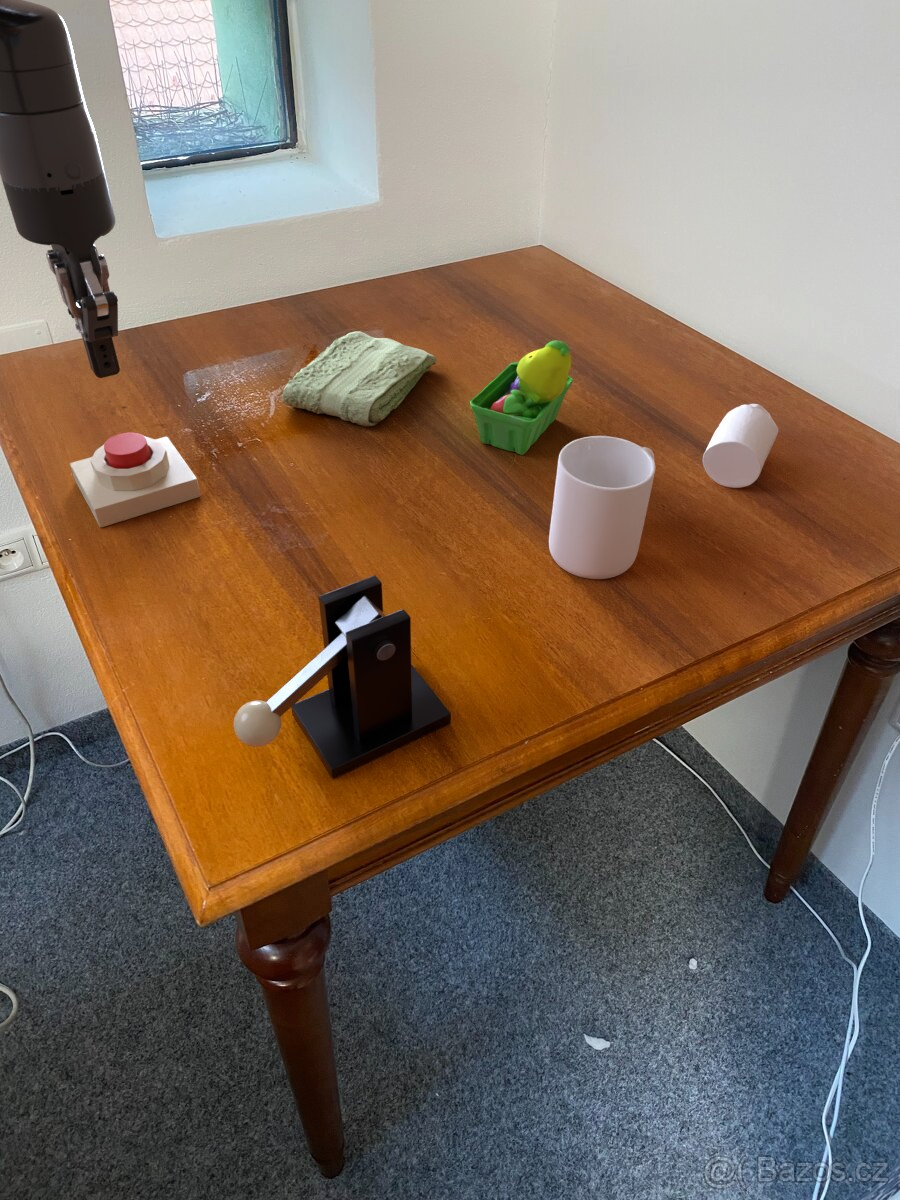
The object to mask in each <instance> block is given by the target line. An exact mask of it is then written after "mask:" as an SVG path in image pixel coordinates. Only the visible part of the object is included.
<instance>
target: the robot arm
mask: <svg viewBox="0 0 900 1200" xmlns="http://www.w3.org/2000/svg"><path fill="white" fill-rule="evenodd" d="M76 63H77V62H76V59H75V53H74V49H73V45H72V40H71V37H70V34H69V30H68V27H67V25H66V23H65V21H64V19H63V17H62V16H61V15H60V14H59V13H58V12H57V11H55V10H54V9H52V8H50V7H48V6H44V5H41V4H38V3H36V2H35V3H34V2H31V1H27V0H0V178H1V182H2V186H3V188H4V192H5V195H6V198H7V202H8V205H9V209H10V211H11V215H12V218H13V221H14V225H15V227H16V231H17V233H18V234H19V236H21V237H22V238H23V239H24V240H26V241H29V242H31V243H33V244H37V245H44V246H50V247H51V249H48V250H47V251H46V253H45V255H46V259H47V263H48V267H49V269H50V271H51V272H52V273H53V274H54V276H55V279H56V282H57V283H56V284H57V286H58V290H59V293H60V296H61V299H62V302H63V303H64V305H65V306H66V307H67V312H68V315H70V316H71V319H74V322H75V323H74V326H75V329H76V331H78V333H79V334H80V336H81V338H82V342H83V346H84V349H85V352H86V355H87V359H88V363H89V366H90V370H91V371H92V372H93V374H94V375H95V376H96V378H99V379H103V378H107V377H112V376H116V375H118V374H119V373H120V371H121V368H120V367H121V366H120V364H119V360H118V356H117V352H116V349H115V344H114V340H113V338H115V337H118V336H119V304H118V303H119V299H118V296H117V295H116V293H115V292H114V290H111V289H110V286H109V278H110V272H109V267H108V263H107V261H106V258H105V256H104V254H100V255H99V252H98V249H97V246H96V244H95V242H96V241H97V240H98V239H99V238H101V237H104V236H106V235H108V234H109V233H111V232H112V230H113V229H114V227H115V226H116V216H115V211H114V207H113V203H112V198H111V195H110V190H109V186H108V182H107V177H106V173H105V169H104V164H103V160H102V155H101V150H100V146H99V143H98V138H97V134H96V131H95V127H94V124H93V121H92V119H91V117H90V114H89V111H88V108H87V105H86V101H85V97H84V94H83V89H82V85H81V81H80V76H79V71H78V68H77V64H76Z"/></svg>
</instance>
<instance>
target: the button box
mask: <svg viewBox="0 0 900 1200" xmlns="http://www.w3.org/2000/svg"><path fill="white" fill-rule="evenodd" d="M143 436H144V435H143ZM144 437H145V438H146V440H147V444H148V448H149V452H150V459H149V461H147V462H146V463H144V464H143V465H140V466H137V467H133V468H130V469H116V468H113V467H111V466H110V465H109V463H108V460H107V457H106V453H105V450H104V444H103V445H102V446H100V447H98V448H96V449H95V451H94V453H93V455H92V456H91V457H87V458H83V459H80V460H77V461H76V460H75V461H72V462H70V463H69V466H70V470H71V473H72V475H73V479H74V481H75V483H76V485H77V487H78V489H79V491H80V493H81V495H82V497H83V498H84V500H85V502H86V504H87V506H88V508H89V510H90V511H91V513H92V515H93V517H94V519H95V521H96V523H97V525H98V526H99V528H101V529H102V528H104V527H107V526H111V525H114V524H117V523H120V522H124V521H127V520H131V519H133V518H136V517H140V516H143V515H145V514H149V513H153V512H156V511H159V510H162V509H165V508H168V507H172V506H175V505H179V504H181V503H185V502H188V501H190V500H195V499H197V498H201V496H202V495H201V490H200V485H199V481H198V478H197V476H196V475H195V473H194V472H193V470H191V468H190V466H189V465H188V464H187V463H186V461H185V460H184V458H183V457H182V455H181V454H180V453H179V451H178V450H177V449H176V447H175V445H174V443H172V441H171V440H170V438H169V437H168V436H163V437H160V438H156V439H154V438H151V437H148V436H144Z"/></svg>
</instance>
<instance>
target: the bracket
mask: <svg viewBox="0 0 900 1200" xmlns="http://www.w3.org/2000/svg"><path fill="white" fill-rule="evenodd" d="M363 596H366V597H367V598H368V599H369V600H370V601H372V602H373V603H374V604H375V605H376V606H377V607H378V608H379V609H380V610H381V611H382V612H383V613H384V603H383V583H382V582H381V580H380V579H379V578H378V576H377V575H376V574H375V575H374V574H373V575H372V576H369V577H366V578H364V579H361V580H359V581H355V582H353V583H350V584H348V585H345V586H343V587H340V588H337V589H334V590H332V591H329V592H327V593H324V594H321V595H319V596H318V603H319V614H320V623H321V630H322V631H321V632H322V639H323V650H324V649H325V648H326V647H327V646H328V645H329V644H330V643H331V642H333V641H334V640H335V639H336V638H337V637H338V636H339V635H340V634H341V633H342V632H341V630H340V629H339V628H338V626H337V625H336V624H335V622H336V621H337V620H338V619H339V618H340V617H341V616H342V615H343V614H344V613H345V612H347V611H348V610H349V609H350V608H351V607H352V606H353V605H354V604H355V603H356V602H358V601H359V600H360V599H361V598H362V597H363ZM411 619H412V617H411V616H410V614H408V612H407V611H406V610H405V609H404V608H402V609H400V610H397V611H394V612H391V613H390V614H387V615H385V616H384V617H382V618H380V619H377V620H375V621H372V622H370V623H367V624H365V625H362V626H360V627H357V628H355V629H352V630H350V631H347V632H346V642H347V654H348V656H347V657H346V658H345V659H343V660H342V661H341V662H340V663H339V664H338V665H337V666H336V667H335V668H334V669H332V670H331V671H330V672H329V673H328V674H327V675H326V676H327V683H328V684H327V685H328V688H327V689H325V690H323V691H320V692H318V693H316V694H314V695H311V696H308V697H307V698H304V699H302V700H299V701H297V702H296V703H295V704H294V705H293V706H292V707H291V708H290V709H291V714H292V717H293V718H294V720H295V722H296V723H297V725H298V726H299V728H300V730H301V731H302V733H303V735H304V736H305V737H306V740H307V741H308V742H309V744H310V746H311V747H312V749H313V750H314V751H315V753H316V755H317V756H318V758H319V760H320V761H321V763H322V764H323V766H324V768H325V769H326V770H327V772H328V774H329V776H330V777H331V778H332V779H333V780H334V779H337V778H339V777H341V776H343V775H345V774H347V773H349V772H352V771H353V770H356V769H358V768H360V767H362V766H364V765H366V764H368V763H370V762H372V761H374V760H376V759H379V758H381V757H383V756H385V755H387V754H390V753H391V752H393V751H396V750H398V749H400V748H402V747H404V746H406V745H408V744H410V743H412V742H414V741H416V740H419V739H421V738H423V737H425V736H427V735H429V734H431V733H433V732H436V731H437V730H440V729H441V728H443V727H447V726H448V725H451V723H452V713H451V711H450V710H449V709H448V708H447V707H446V705H445V704H444V703H443V702H442V700H441V699H440V698H439V697H438V696H437V694H436V693H435V692H434V690H433V689H432V688H431V687H430V685H429V684H428V683H427V682H426V680H425V679H424V678H423V677H422V676H421V674H420V673H419V671H418V670H417V668H415V666H414V665H413V664H412V625H411V624H412V623H411Z"/></svg>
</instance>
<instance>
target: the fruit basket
mask: <svg viewBox="0 0 900 1200" xmlns="http://www.w3.org/2000/svg"><path fill="white" fill-rule="evenodd" d="M570 352H571V350H570V347H569V345H568V344H567V343H566V342H565V341H563V340H556V339H555V340H551V341H549V342H547V343H546V344H545V346H544V347H543V348H539V349H536V350H533V351H531V352H528V353H527V354H525V355H524V356H523V357H522V358H520V360H519V361H514V362H511V363H509V364H508V365H507V366H506V367H505V368H504V369H503V370H502V371H501V372H500V373H499V374H497V376H496V377H495V378H494V379H493V380H492V381H490V382H489V383H488V384H487V385H486V386H485V387H484V388H483V389H481V391H480V392H478V394H476V395H475V396H474V397H473V398H472V399H471V400H470V401H469V405H470V408H471V411H472V413H473V415H474V417H475V422H476V425H477V430H478V434H479V438H480V441H481V443H482V444H484V445H491V446H493V447H495V448H498V449H501V450H504V451H506V452H507V451H508V452H513V453H514V452H515V453H516V454H518V455H520V456H523V455H525V454H526V453H527V452H528V451H529V450H530V449H531V448H530V447H531V446H532V445H534V444H535V443H536V442H537V440H538V439H539V437H540V436H541V435H543V434H544V433H545V432H546V430H547V429H548V428H549V426H550V425H552V424H553V423H554V421H555V420H556V418H557V417H558V413H559V411H560V409H561V406H562V404H563V402H564V399H565V397H566V394H567V393H568V390H569V389H570V388H571V386H572V383H573V381H574V378H573V377H571V376H570V371H571V367H572V356H571V353H570Z"/></svg>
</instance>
